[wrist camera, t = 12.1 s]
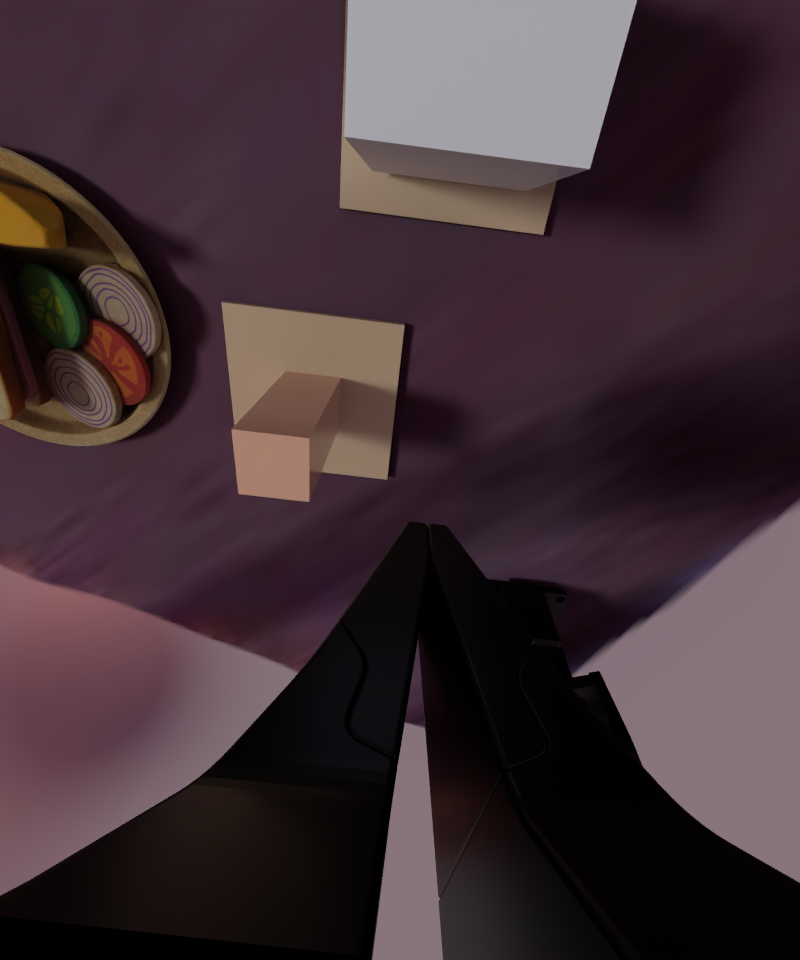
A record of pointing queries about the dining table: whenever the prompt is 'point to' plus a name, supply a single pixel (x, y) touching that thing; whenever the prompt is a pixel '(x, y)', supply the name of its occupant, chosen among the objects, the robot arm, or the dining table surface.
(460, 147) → the matte gray box
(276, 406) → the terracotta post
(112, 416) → the toy sandwich meal
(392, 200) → the maple post
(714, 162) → the dining table surface
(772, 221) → the dining table surface
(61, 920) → the robot arm
